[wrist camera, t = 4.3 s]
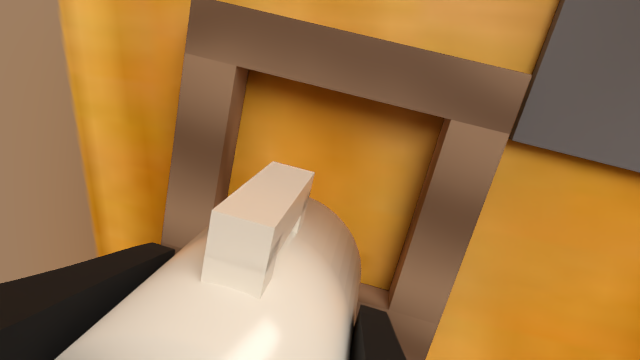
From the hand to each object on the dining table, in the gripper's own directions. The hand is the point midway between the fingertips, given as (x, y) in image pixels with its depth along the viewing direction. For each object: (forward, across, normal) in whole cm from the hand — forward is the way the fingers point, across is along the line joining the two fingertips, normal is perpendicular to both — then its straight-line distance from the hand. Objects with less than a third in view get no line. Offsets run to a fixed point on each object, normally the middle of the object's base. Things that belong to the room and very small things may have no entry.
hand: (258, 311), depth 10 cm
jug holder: (+9, 0, 0) cm, 9 cm away
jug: (+2, 0, 0) cm, 2 cm away
